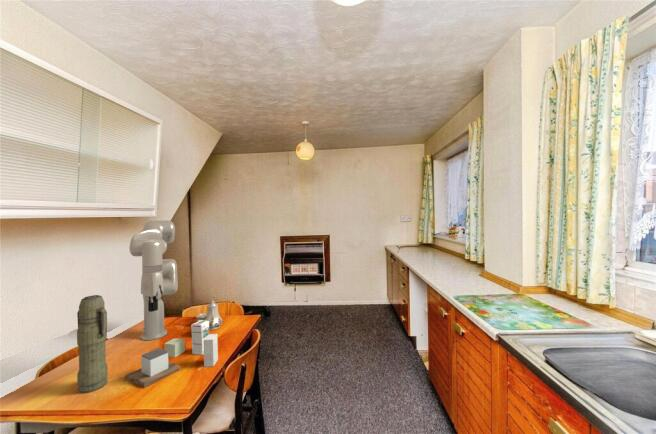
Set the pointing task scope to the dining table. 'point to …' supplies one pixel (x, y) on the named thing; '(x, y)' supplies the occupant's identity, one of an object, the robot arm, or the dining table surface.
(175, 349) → the sage block
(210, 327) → the chinaware
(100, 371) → the thermos
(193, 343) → the syrup box
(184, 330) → the dining table surface
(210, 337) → the skincare box
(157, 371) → the light grey block
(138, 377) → the walnut steps
